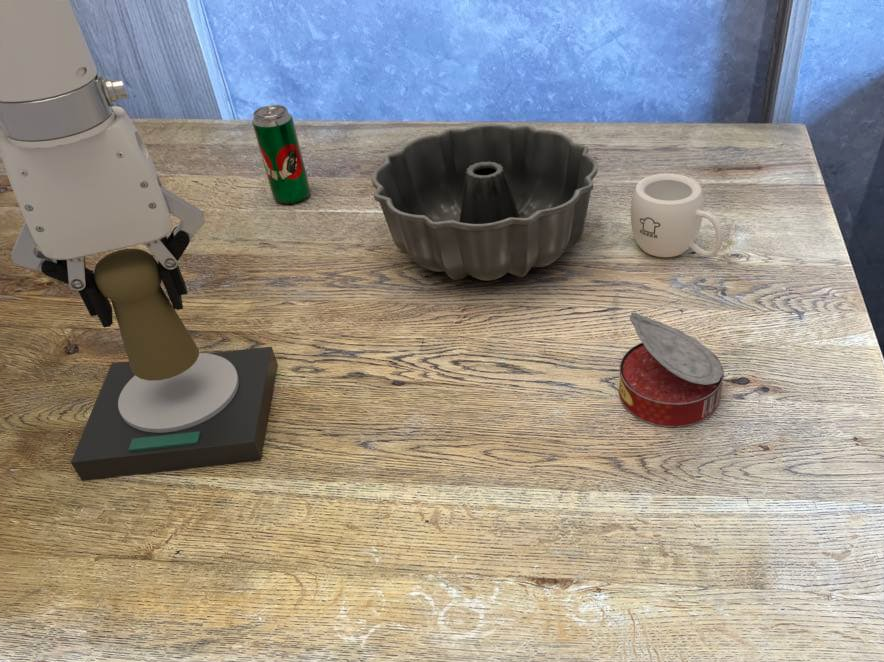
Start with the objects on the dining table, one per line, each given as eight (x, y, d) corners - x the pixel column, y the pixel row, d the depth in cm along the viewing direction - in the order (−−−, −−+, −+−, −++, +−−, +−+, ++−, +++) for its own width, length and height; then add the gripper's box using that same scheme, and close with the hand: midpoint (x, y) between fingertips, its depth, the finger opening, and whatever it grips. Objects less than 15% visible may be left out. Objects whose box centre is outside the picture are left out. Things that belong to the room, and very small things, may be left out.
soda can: (316, 189, 114) (296, 104, 106) (302, 206, 110) (280, 120, 102) (282, 187, 114) (260, 102, 106) (267, 204, 111) (243, 118, 103)
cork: (124, 384, 73) (73, 281, 66) (138, 343, 78) (91, 243, 70) (193, 376, 74) (150, 273, 66) (203, 336, 78) (164, 235, 71)
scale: (81, 480, 74) (67, 457, 72) (120, 381, 84) (109, 358, 82) (261, 460, 75) (252, 437, 73) (277, 364, 85) (270, 341, 83)
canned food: (636, 397, 86) (648, 303, 84) (729, 418, 82) (745, 319, 79) (591, 418, 76) (604, 313, 74) (694, 443, 72) (712, 332, 70)
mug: (615, 249, 100) (616, 189, 94) (656, 221, 104) (660, 163, 99) (698, 283, 93) (704, 222, 88) (737, 252, 98) (746, 192, 93)
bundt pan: (398, 195, 112) (386, 124, 105) (590, 188, 111) (591, 116, 104) (370, 308, 92) (353, 230, 85) (603, 300, 92) (605, 220, 85)
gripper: (171, 70, 65) (237, 266, 77) (-70, 110, 60) (40, 311, 72) (178, 104, 59) (247, 308, 72) (-86, 151, 55) (36, 360, 67)
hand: (142, 308), depth 72 cm, fingers closed on cork, 5 cm apart
